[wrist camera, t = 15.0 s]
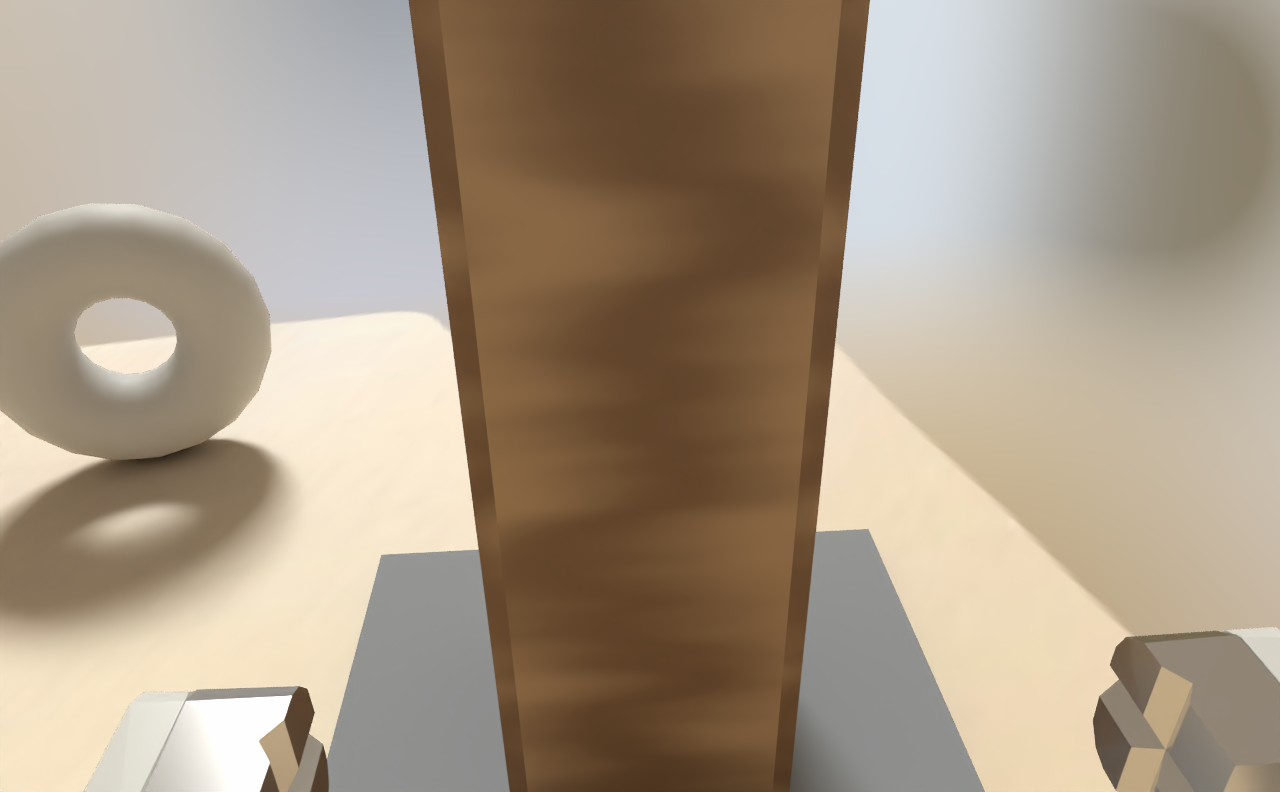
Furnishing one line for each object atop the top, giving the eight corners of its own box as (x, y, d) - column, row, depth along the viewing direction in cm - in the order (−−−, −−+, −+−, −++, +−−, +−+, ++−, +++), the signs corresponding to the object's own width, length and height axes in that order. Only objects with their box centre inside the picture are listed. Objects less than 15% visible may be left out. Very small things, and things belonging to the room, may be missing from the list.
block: (514, 829, 22) (400, -60, 12) (525, 631, 27) (452, -86, 18) (787, 810, 22) (876, -69, 13) (743, 619, 28) (783, -93, 18)
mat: (264, 1034, 19) (257, 1019, 18) (384, 569, 31) (381, 554, 30) (1051, 973, 19) (1058, 957, 19) (866, 543, 31) (868, 529, 31)
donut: (292, 404, 40) (238, 174, 35) (298, 445, 37) (241, 201, 32) (26, 455, 37) (-74, 210, 32) (11, 504, 34) (-101, 244, 29)
